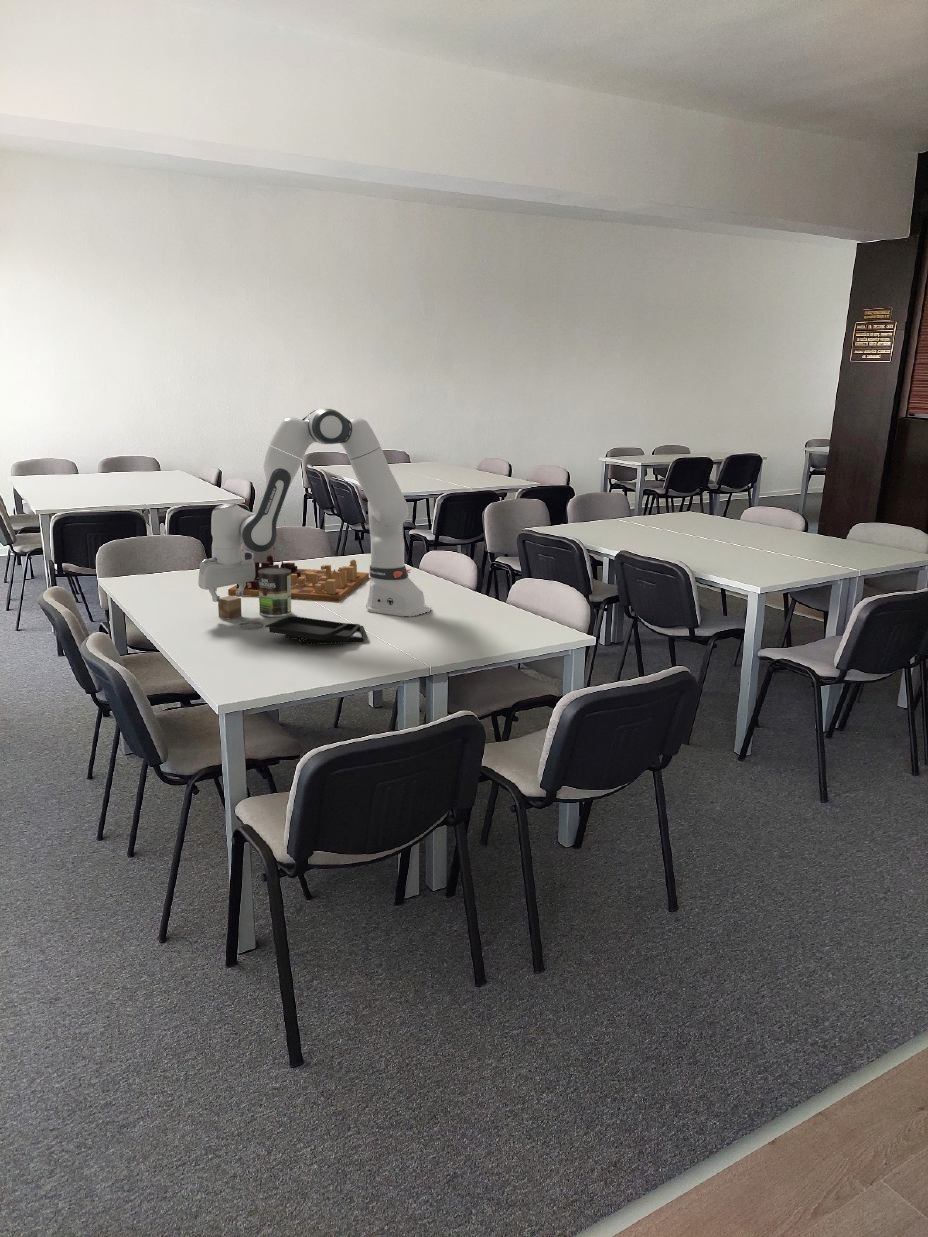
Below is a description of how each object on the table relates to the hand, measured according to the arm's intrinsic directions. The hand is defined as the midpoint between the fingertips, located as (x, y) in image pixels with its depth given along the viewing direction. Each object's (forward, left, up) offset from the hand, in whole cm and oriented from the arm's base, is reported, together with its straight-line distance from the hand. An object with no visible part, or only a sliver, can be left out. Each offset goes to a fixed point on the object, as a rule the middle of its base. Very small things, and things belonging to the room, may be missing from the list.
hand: (227, 598), depth 283 cm
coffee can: (-8, -12, -6) cm, 16 cm away
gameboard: (+14, -46, -7) cm, 49 cm away
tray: (-41, +1, -6) cm, 41 cm away
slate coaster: (-14, +4, -6) cm, 16 cm away
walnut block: (0, 0, -6) cm, 6 cm away
